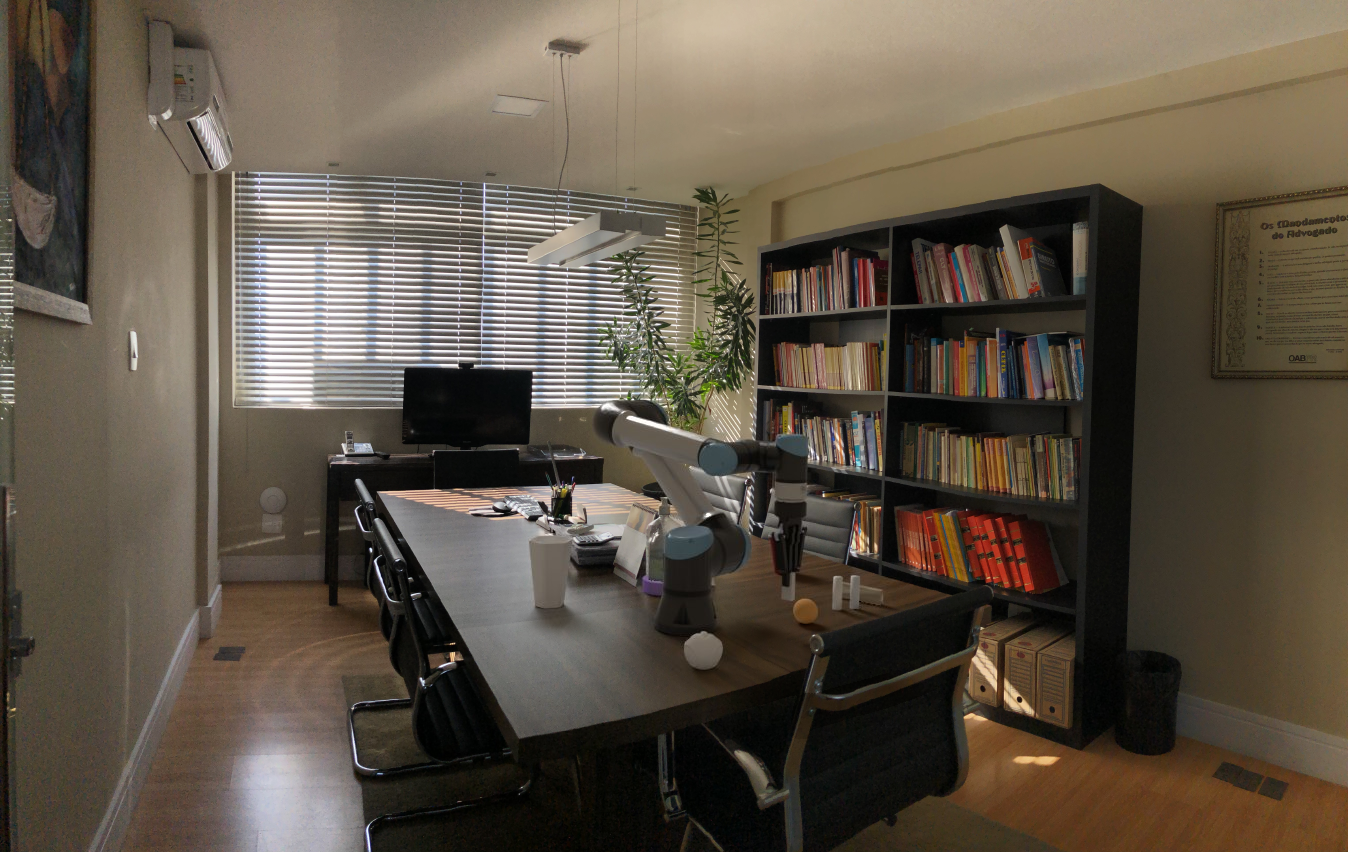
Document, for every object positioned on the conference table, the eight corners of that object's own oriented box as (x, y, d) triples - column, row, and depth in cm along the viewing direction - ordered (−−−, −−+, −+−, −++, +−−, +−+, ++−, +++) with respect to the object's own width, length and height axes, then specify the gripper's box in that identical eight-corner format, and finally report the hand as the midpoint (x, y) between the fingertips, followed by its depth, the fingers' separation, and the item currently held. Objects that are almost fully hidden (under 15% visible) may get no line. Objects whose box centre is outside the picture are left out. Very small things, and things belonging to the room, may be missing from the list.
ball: (805, 628, 193) (806, 603, 193) (787, 621, 198) (788, 597, 198) (822, 624, 197) (823, 600, 196) (804, 618, 202) (805, 594, 201)
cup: (560, 612, 200) (562, 544, 199) (522, 609, 202) (523, 542, 201) (575, 600, 211) (576, 536, 210) (538, 597, 213) (540, 533, 212)
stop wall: (879, 605, 215) (880, 591, 215) (832, 595, 224) (832, 581, 223) (882, 604, 217) (883, 589, 216) (835, 594, 225) (836, 580, 225)
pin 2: (854, 609, 210) (856, 577, 210) (847, 607, 212) (848, 575, 212) (860, 608, 212) (862, 576, 211) (853, 606, 214) (855, 574, 213)
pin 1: (837, 610, 209) (838, 578, 209) (830, 608, 211) (831, 576, 210) (843, 609, 210) (844, 577, 210) (836, 607, 212) (837, 575, 212)
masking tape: (647, 597, 217) (648, 583, 217) (638, 586, 229) (638, 573, 228) (689, 595, 221) (689, 581, 220) (677, 585, 232) (678, 571, 232)
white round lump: (720, 662, 168) (721, 626, 168) (724, 675, 160) (725, 637, 160) (682, 661, 168) (683, 625, 167) (684, 675, 160) (685, 636, 160)
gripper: (790, 504, 181) (787, 607, 182) (818, 498, 191) (815, 596, 192) (762, 501, 185) (759, 601, 186) (790, 495, 196) (788, 591, 197)
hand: (788, 599), depth 189 cm, fingers closed
